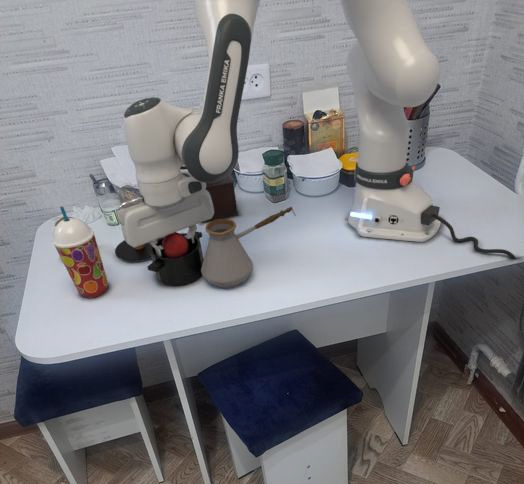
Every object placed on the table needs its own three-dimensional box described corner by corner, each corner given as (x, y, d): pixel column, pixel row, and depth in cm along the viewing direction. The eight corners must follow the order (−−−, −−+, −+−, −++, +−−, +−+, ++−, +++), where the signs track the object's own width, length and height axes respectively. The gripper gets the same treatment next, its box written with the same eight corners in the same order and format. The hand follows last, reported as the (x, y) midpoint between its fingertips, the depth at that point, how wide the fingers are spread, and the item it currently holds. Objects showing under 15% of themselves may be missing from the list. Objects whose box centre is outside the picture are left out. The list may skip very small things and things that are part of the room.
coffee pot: (203, 296, 101) (190, 233, 91) (202, 267, 109) (191, 207, 99) (301, 283, 101) (300, 219, 91) (293, 256, 110) (291, 194, 100)
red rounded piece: (186, 268, 104) (179, 236, 98) (162, 267, 105) (153, 235, 100) (194, 255, 108) (187, 223, 103) (171, 254, 109) (163, 222, 104)
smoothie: (91, 277, 110) (59, 196, 97) (120, 283, 107) (91, 200, 94) (68, 298, 104) (30, 214, 91) (98, 304, 102) (64, 219, 88)
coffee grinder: (229, 199, 135) (220, 134, 123) (238, 215, 127) (230, 147, 115) (176, 210, 133) (161, 145, 121) (182, 227, 125) (167, 159, 113)
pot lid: (174, 243, 119) (170, 225, 115) (142, 268, 111) (137, 249, 108) (138, 234, 124) (133, 216, 120) (105, 257, 116) (99, 239, 113)
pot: (221, 259, 111) (216, 233, 106) (178, 298, 101) (171, 270, 96) (184, 250, 116) (178, 224, 111) (139, 286, 106) (130, 259, 101)
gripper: (119, 210, 89) (138, 272, 98) (212, 178, 97) (221, 238, 106) (107, 200, 93) (127, 260, 102) (197, 170, 101) (208, 228, 110)
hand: (176, 249), depth 104 cm, fingers closed on red rounded piece, 6 cm apart
